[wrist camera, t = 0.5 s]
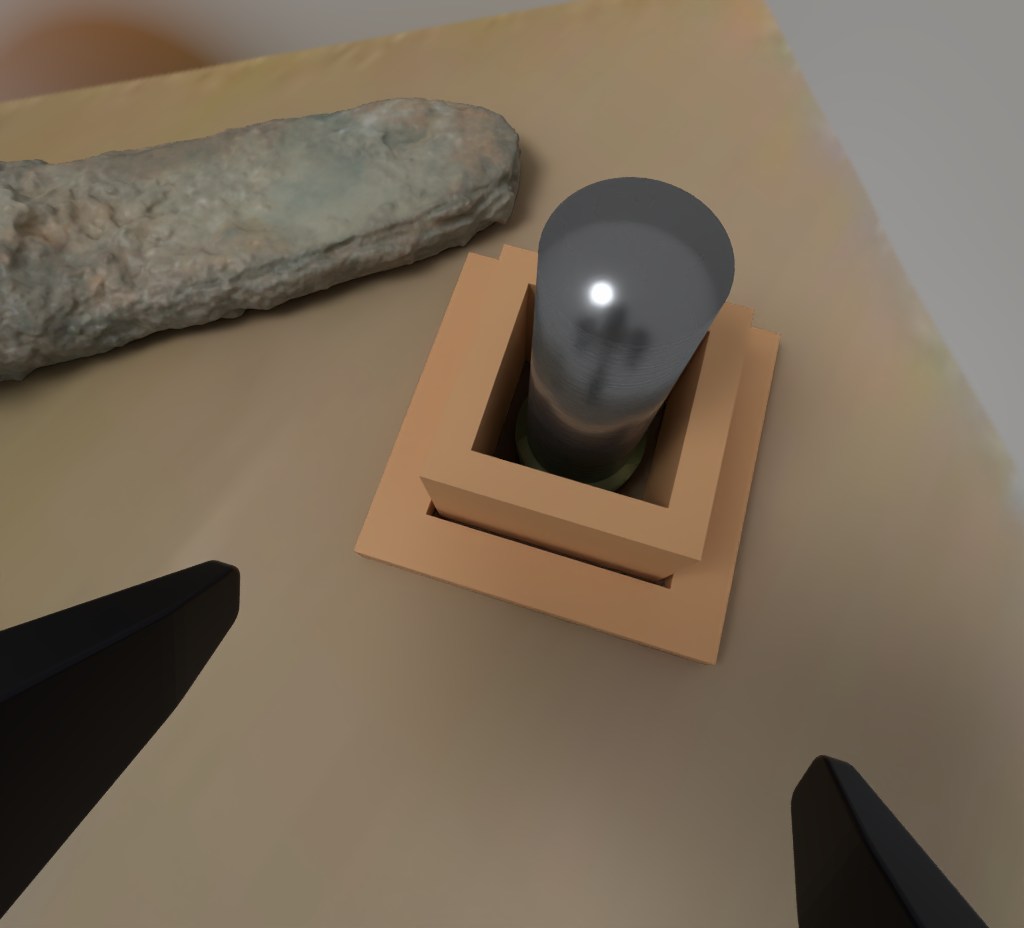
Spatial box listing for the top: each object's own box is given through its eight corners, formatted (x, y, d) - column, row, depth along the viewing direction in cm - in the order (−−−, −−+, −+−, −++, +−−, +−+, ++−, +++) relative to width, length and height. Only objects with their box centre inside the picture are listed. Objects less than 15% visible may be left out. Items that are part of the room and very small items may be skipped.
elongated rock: (552, 284, 28) (488, 131, 31) (565, 195, 23) (488, 25, 26) (-318, 499, 23) (-284, 290, 26) (-539, 445, 18) (-463, 196, 21)
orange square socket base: (704, 664, 21) (767, 668, 16) (361, 556, 22) (315, 527, 17) (768, 348, 25) (836, 268, 20) (470, 269, 26) (460, 173, 21)
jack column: (621, 520, 23) (729, 392, 11) (499, 483, 23) (488, 325, 12) (651, 406, 24) (772, 193, 13) (535, 374, 24) (555, 140, 13)
